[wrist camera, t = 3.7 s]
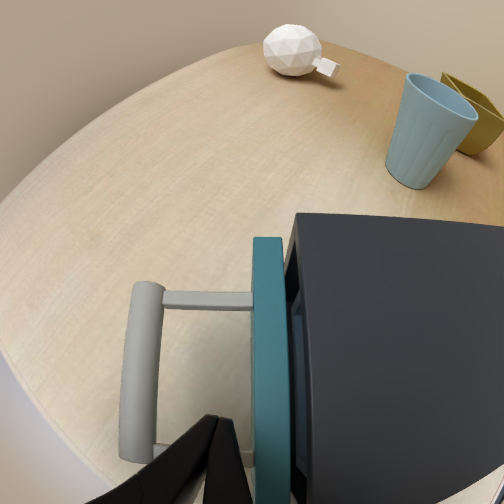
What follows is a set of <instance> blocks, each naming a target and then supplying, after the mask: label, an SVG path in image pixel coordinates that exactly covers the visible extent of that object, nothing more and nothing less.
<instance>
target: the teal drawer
mask: <svg viewBox="0 0 504 504" xmlns="http://www.w3.org/2000/svg"><path fill="white" fill-rule="evenodd" d="M164 307H165V308H166V309H182V310H213V311H251V450H240V454H241V458H242V462H243V466H244V467H251V477H252V490H253V503H254V504H290V500H291V427H290V382H289V353H288V330H287V310H286V292H285V275H284V259H283V245H282V238H281V237H254V238H253V258H252V282H251V292H201V291H166V289H165V287H163V286H162V285H160V284H158V283H154V282H150V281H138V282H136V283H135V284H134V285H133V290H132V296H131V302H130V309H129V315H128V322H127V329H126V337H125V346H124V355H123V365H122V376H121V390H120V409H119V457H120V458H121V459H123V460H126V461H129V462H133V463H140V464H149V463H150V462H151V461H152V460H154V459H155V458H156V457H157V456H158V455H160V454H161V453H162V452H163V451H165V450H166V449H167V448H168V447H169V446H170V445H168V444H161V443H158V444H156V423H157V393H158V374H159V360H160V347H161V336H162V326H163V316H164ZM291 314H292V332H293V353H294V379H295V415H296V466H297V467H298V468H299V470H300V471H301V472H302V473H303V474H304V475H305V477H306V478H307V419H306V386H305V363H304V344H303V328H302V313H301V300H300V289H299V292H298V294H297V296H296V299H295V301H294V303H293V305H292V308H291Z"/></svg>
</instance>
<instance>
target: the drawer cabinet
mask: <svg viewBox="0 0 504 504" xmlns="http://www.w3.org/2000/svg"><path fill="white" fill-rule="evenodd" d="M284 275H285V292H286V310H287V330H288V353H289V382H290V427H291V500H290V504H436V503H438V502H441V501H443V500H445V499H447V498H449V497H450V496H452V495H454V494H456V493H458V492H460V491H462V490H463V489H465V488H467V487H469V486H470V485H472V484H474V483H475V482H477V481H479V480H480V479H482V478H483V477H485V476H487V475H488V474H490V473H491V472H493V471H494V470H496V469H497V468H498V467H500V466H501V465H503V464H504V227H501V226H493V225H484V224H474V223H464V222H453V221H442V220H430V219H417V218H403V217H387V216H370V215H349V214H324V213H296V215H295V220H294V225H293V228H292V233H291V237H290V241H289V245H288V249H287V254H286V258H285V262H284ZM299 289H300V300H301V313H302V328H303V344H304V363H305V386H306V419H307V478H306V477H305V475H304V474H303V473H302V472H301V471H300V470H299V468H298V467H297V466H296V415H295V379H294V353H293V332H292V314H291V308H292V305H293V303H294V301H295V299H296V296H297V294H298V292H299Z"/></svg>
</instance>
